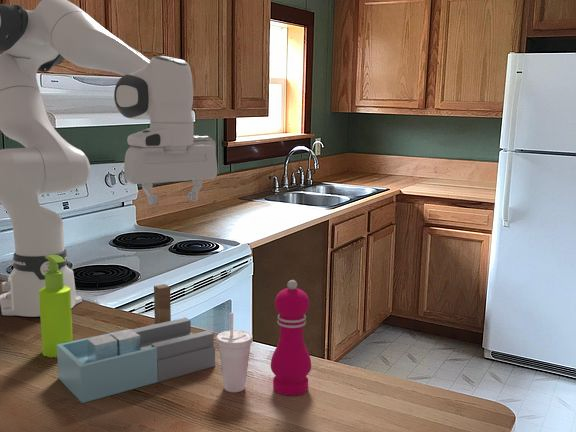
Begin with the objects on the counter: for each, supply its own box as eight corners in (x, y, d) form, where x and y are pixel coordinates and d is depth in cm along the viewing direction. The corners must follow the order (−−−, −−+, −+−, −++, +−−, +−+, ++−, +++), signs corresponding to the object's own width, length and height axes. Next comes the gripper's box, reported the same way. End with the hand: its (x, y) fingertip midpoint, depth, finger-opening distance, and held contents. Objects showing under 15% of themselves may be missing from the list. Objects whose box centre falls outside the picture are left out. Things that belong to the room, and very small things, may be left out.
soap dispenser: (51, 361, 123) (45, 261, 119) (38, 351, 128) (32, 254, 124) (80, 354, 127) (75, 257, 123) (66, 344, 132) (61, 250, 128)
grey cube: (111, 354, 117) (110, 333, 116) (131, 349, 119) (131, 329, 119) (120, 361, 114) (119, 340, 113) (140, 356, 116) (140, 335, 115)
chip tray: (58, 378, 116) (56, 344, 114) (130, 360, 124) (129, 328, 123) (81, 403, 106) (80, 366, 105) (157, 382, 115) (156, 348, 114)
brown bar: (148, 338, 136) (147, 284, 134) (165, 334, 138) (164, 281, 136) (160, 346, 131) (159, 291, 129) (177, 342, 134) (176, 287, 132)
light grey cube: (87, 359, 114) (86, 338, 114) (109, 354, 117) (108, 333, 116) (96, 366, 111) (95, 345, 111) (117, 361, 114) (117, 340, 113)
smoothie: (212, 383, 115) (211, 309, 112) (245, 377, 117) (245, 305, 115) (222, 398, 109) (222, 320, 106) (257, 392, 111) (258, 316, 109)
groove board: (130, 360, 124) (129, 328, 123) (185, 346, 131) (184, 316, 130) (158, 382, 115) (157, 348, 114) (215, 366, 122) (214, 334, 121)
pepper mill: (307, 399, 109) (309, 287, 105) (266, 394, 110) (267, 284, 107) (313, 381, 116) (316, 276, 112) (275, 377, 117) (276, 273, 114)
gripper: (207, 134, 140) (208, 196, 142) (119, 136, 127) (121, 204, 130) (222, 136, 135) (223, 200, 137) (132, 138, 123) (134, 208, 125)
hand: (173, 202), depth 134 cm, fingers open, 8 cm apart
